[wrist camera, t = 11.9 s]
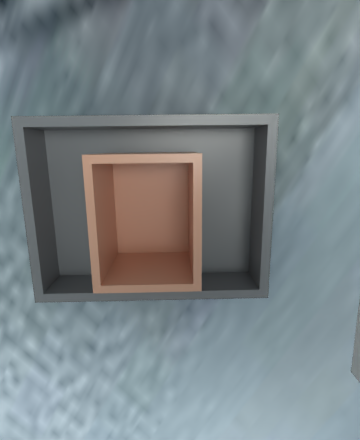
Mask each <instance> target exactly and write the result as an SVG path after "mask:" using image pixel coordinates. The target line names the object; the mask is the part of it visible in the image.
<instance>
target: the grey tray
mask: <svg viewBox="0 0 360 440" xmlns="http://www.w3.org/2000/svg"><path fill="white" fill-rule="evenodd" d="M11 120H12V128H13V136H14V143H15V151H16V159H17V167H18V174H19V182H20V190H21V197H22V205H23V213H24V220H25V228H26V236H27V243H28V251H29V259H30V266H31V274H32V282H33V290H34V297H35V303H37V302H86V301H135V300H183V299H232V298H268V291H269V274H270V257H271V239H272V222H273V205H274V188H275V171H276V154H277V137H278V120H279V114H191V115H92V116H11ZM144 152H198V153H202V291H193V292H143V293H93V285H92V273H91V261H90V249H89V237H88V225H87V213H86V200H85V188H84V176H83V164H82V155H86V154H100V153H144Z"/></svg>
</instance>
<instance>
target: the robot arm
mask: <svg viewBox="0 0 360 440" xmlns="http://www.w3.org/2000/svg"><path fill="white" fill-rule="evenodd" d="M351 372H352V374H353V375H354V376H355V377H356V379H357V380H358V381H359V382H360V301H359V310H358V318H357V326H356V334H355V343H354V351H353V359H352V367H351Z"/></svg>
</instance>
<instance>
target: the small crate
mask: <svg viewBox="0 0 360 440" xmlns="http://www.w3.org/2000/svg"><path fill="white" fill-rule="evenodd" d="M82 164H83V176H84V188H85V200H86V213H87V225H88V237H89V249H90V261H91V273H92V285H93V293H143V292H193V291H202V153H198V152H144V153H100V154H86V155H82Z"/></svg>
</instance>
